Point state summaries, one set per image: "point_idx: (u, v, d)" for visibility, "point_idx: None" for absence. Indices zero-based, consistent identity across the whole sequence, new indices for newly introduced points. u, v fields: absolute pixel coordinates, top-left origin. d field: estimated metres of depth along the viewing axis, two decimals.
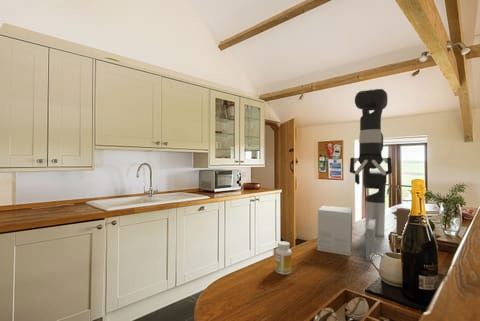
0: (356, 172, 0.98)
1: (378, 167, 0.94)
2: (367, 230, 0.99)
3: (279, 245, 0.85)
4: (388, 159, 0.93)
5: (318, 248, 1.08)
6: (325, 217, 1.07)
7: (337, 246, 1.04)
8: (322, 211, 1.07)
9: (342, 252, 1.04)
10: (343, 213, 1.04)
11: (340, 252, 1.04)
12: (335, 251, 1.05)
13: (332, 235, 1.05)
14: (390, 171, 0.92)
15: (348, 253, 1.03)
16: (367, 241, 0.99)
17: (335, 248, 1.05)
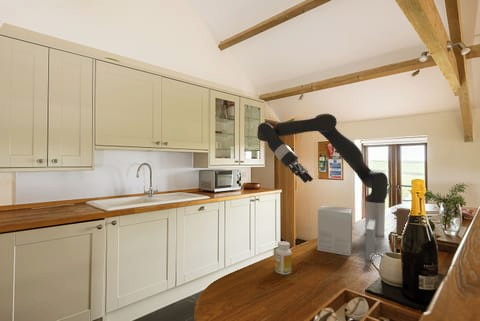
0: None
1: (295, 172, 1.17)
2: (367, 230, 0.99)
3: (279, 245, 0.85)
4: None
5: (318, 248, 1.08)
6: (325, 217, 1.07)
7: (337, 246, 1.04)
8: (322, 211, 1.07)
9: (342, 252, 1.04)
10: (343, 213, 1.04)
11: (340, 252, 1.04)
12: (335, 251, 1.05)
13: (332, 235, 1.05)
14: (295, 174, 1.13)
15: (348, 253, 1.03)
16: (367, 241, 0.99)
17: (335, 248, 1.05)
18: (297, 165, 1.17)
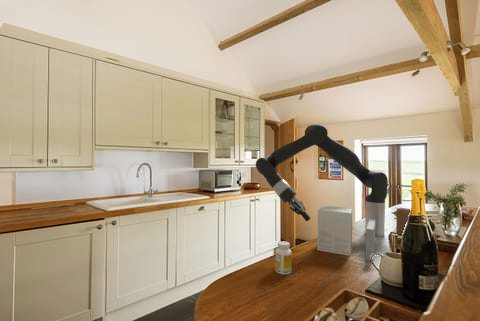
0: None
1: None
2: (367, 230, 0.99)
3: (279, 245, 0.85)
4: None
5: (318, 248, 1.08)
6: (325, 217, 1.07)
7: (337, 246, 1.04)
8: (322, 211, 1.07)
9: (342, 252, 1.04)
10: (343, 213, 1.04)
11: (340, 252, 1.04)
12: (335, 251, 1.05)
13: (332, 235, 1.05)
14: None
15: (348, 253, 1.03)
16: (367, 241, 0.99)
17: (335, 248, 1.05)
18: (296, 203, 1.18)
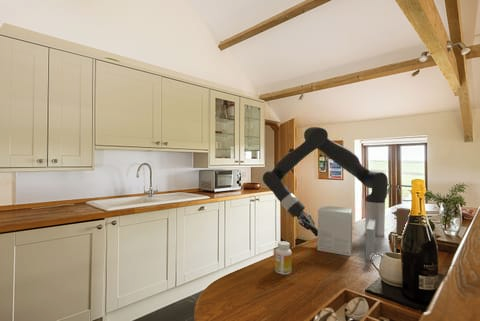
0: None
1: None
2: (367, 230, 0.99)
3: (279, 245, 0.85)
4: None
5: (318, 248, 1.08)
6: (325, 217, 1.07)
7: (337, 246, 1.04)
8: (322, 211, 1.07)
9: (342, 252, 1.04)
10: (343, 213, 1.04)
11: (340, 252, 1.04)
12: (335, 251, 1.05)
13: (332, 235, 1.05)
14: None
15: (348, 253, 1.03)
16: (367, 241, 0.99)
17: (335, 248, 1.05)
18: (305, 218, 1.16)
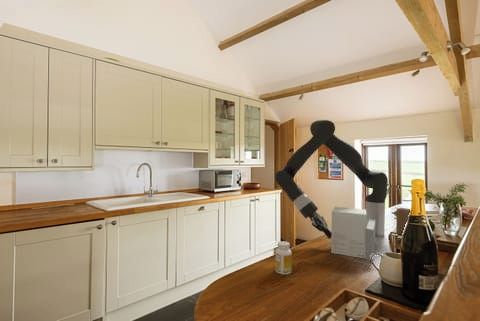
0: None
1: None
2: (367, 230, 0.99)
3: (279, 245, 0.85)
4: None
5: (332, 250, 1.05)
6: (340, 218, 1.04)
7: (352, 248, 1.02)
8: (336, 212, 1.05)
9: (357, 255, 1.01)
10: (358, 215, 1.01)
11: (355, 255, 1.01)
12: (350, 254, 1.02)
13: (346, 237, 1.03)
14: None
15: (363, 256, 1.00)
16: (367, 241, 0.99)
17: (350, 251, 1.02)
18: (318, 219, 1.13)
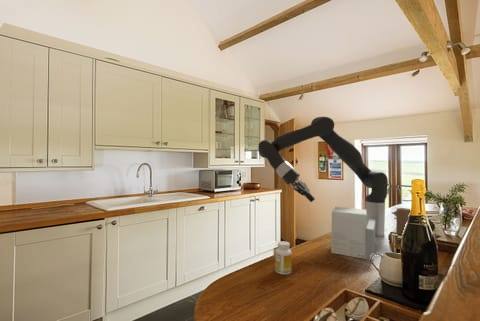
0: None
1: None
2: (367, 230, 0.99)
3: (279, 245, 0.85)
4: None
5: (332, 250, 1.05)
6: (340, 218, 1.04)
7: (352, 248, 1.02)
8: (336, 213, 1.05)
9: (357, 255, 1.01)
10: (358, 215, 1.01)
11: (355, 255, 1.01)
12: (350, 254, 1.02)
13: (346, 237, 1.03)
14: None
15: (363, 256, 1.00)
16: (367, 241, 0.99)
17: (350, 251, 1.02)
18: (300, 184, 1.17)
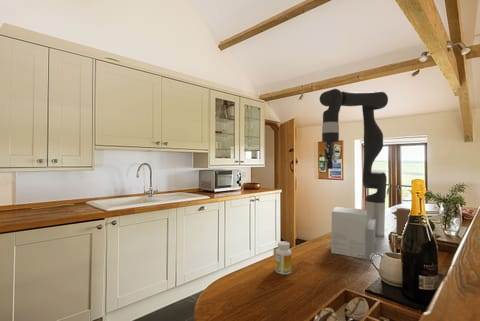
0: None
1: None
2: (367, 230, 0.99)
3: (279, 245, 0.85)
4: None
5: (332, 250, 1.05)
6: (340, 218, 1.04)
7: (352, 248, 1.02)
8: (336, 213, 1.05)
9: (357, 255, 1.01)
10: (358, 215, 1.01)
11: (355, 255, 1.01)
12: (350, 254, 1.02)
13: (346, 237, 1.03)
14: (326, 157, 1.19)
15: (363, 256, 1.00)
16: (367, 241, 0.99)
17: (350, 251, 1.02)
18: (332, 149, 1.18)
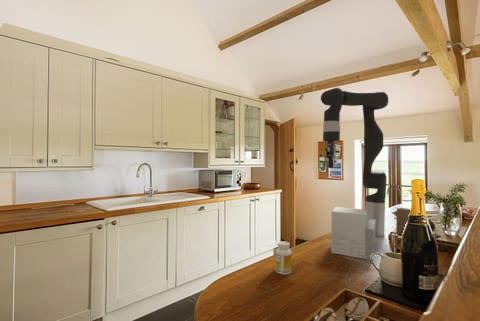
0: None
1: None
2: (367, 230, 0.99)
3: (279, 245, 0.85)
4: None
5: (332, 251, 1.05)
6: (340, 218, 1.04)
7: (352, 248, 1.02)
8: (336, 213, 1.05)
9: (357, 255, 1.01)
10: (358, 215, 1.01)
11: (355, 255, 1.01)
12: (350, 254, 1.02)
13: (346, 237, 1.03)
14: None
15: (363, 256, 1.00)
16: (367, 241, 0.99)
17: (350, 251, 1.02)
18: (333, 148, 1.18)
